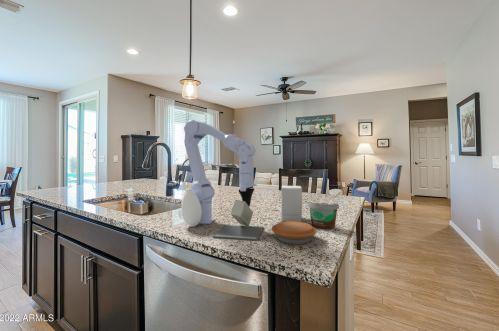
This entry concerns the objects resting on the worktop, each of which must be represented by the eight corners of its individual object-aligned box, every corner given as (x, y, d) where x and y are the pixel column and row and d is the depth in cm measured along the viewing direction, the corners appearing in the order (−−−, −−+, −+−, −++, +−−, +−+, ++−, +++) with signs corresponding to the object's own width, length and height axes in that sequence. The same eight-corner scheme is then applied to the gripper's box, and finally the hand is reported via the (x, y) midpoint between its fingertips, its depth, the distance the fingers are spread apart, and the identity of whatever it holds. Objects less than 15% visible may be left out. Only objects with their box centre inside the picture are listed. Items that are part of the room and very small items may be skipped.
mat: (212, 237, 85) (212, 236, 85) (224, 225, 99) (224, 224, 99) (257, 240, 82) (257, 238, 82) (263, 227, 96) (263, 226, 96)
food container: (304, 227, 97) (304, 202, 96) (308, 223, 102) (308, 200, 102) (336, 232, 91) (336, 205, 91) (338, 227, 96) (339, 203, 96)
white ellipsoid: (198, 227, 93) (192, 181, 94) (180, 229, 95) (174, 184, 95) (206, 222, 101) (200, 180, 101) (189, 224, 103) (183, 182, 103)
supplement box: (302, 222, 104) (302, 188, 104) (281, 221, 106) (281, 187, 105) (300, 217, 113) (301, 185, 113) (281, 216, 115) (282, 185, 114)
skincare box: (244, 210, 102) (235, 198, 92) (253, 212, 100) (245, 201, 91) (239, 224, 99) (229, 214, 89) (249, 227, 98) (240, 216, 88)
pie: (285, 229, 95) (285, 216, 95) (323, 237, 85) (324, 223, 85) (262, 239, 83) (262, 225, 83) (303, 251, 73) (304, 234, 73)
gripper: (253, 174, 89) (253, 210, 90) (258, 172, 104) (259, 203, 104) (234, 174, 91) (235, 210, 91) (242, 172, 105) (243, 203, 105)
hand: (246, 206), depth 98 cm, fingers closed
